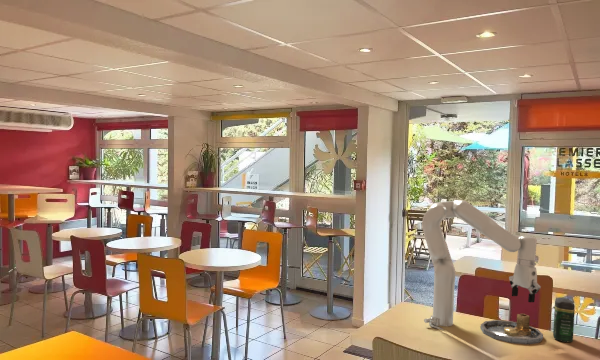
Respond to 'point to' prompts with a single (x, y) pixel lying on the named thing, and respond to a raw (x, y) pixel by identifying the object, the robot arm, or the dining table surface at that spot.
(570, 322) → the coffee jar
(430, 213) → the robot arm
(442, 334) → the dining table surface
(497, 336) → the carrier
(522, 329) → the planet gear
